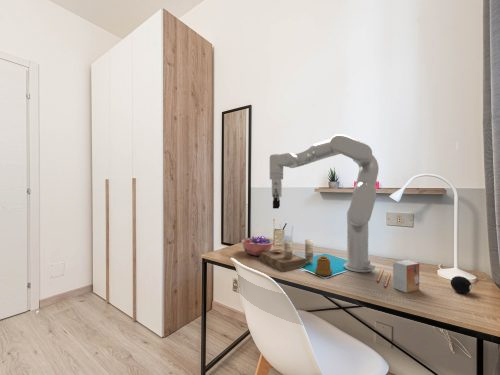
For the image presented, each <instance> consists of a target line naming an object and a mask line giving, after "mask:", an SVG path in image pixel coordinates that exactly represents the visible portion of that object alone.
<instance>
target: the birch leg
mask: <svg viewBox="0 0 500 375" xmlns="http://www.w3.org/2000/svg"><path fill="white" fill-rule="evenodd" d="M304 243H305V244H304V246H305V249H304V250H305V251H304V259H306V262H307V263H312V262H313V263H314V240H313V239H305V240H304Z"/></svg>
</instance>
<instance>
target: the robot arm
mask: <svg viewBox="0 0 500 375" xmlns="http://www.w3.org/2000/svg"><path fill="white" fill-rule="evenodd" d="M337 155H343V156H345V157H347V158H349V159H352V161H353V162H354V163H356V164H357V165H358V168H359V169H358V174H357V178H356V183H355V186H354V188H353V191H352V197H351V202H350V205H349V207H348V209H347V212H346V222H347V229H346V232H347V234H346V241H347V242H346V248H347V249H346V258H347V259H346V262H344V264H343V267H345V268H344V269H346V270H348V271H351V272H356V273H370V272H372V271H375V268H376V265H375V264H371V260H369V222H370V220H371V217H372V213H373V210H374V207H375V204H376V203H375V202H376V199H377V189H376V184H377V180H378V176H379V163H378V161H377V159H376V157H375V155H373V150H372V148H371V146H370V145H368V144H366V143H364V142H361V141H360V140H357V139H355V138H352V137H350V136H347V135H345V134H341V133H339V134H335V135H333V136H332V137H331V138H330V139H327V140H324V141H321V142H318V143H314V144H313V145H311V146H310V147H309V148H308V149H306V150H304V151H300V152H298V153H292V152H287V153H285V152H284V153H281V154H279V153H275V154H274V153H273V154H271V155H270V156H269V180H271V197H272V209H278V210H279V208H280V206H281V204H280V202H281V200H280V198H282V196H283V194H282V193H283V191H282V190H283V188H282V183H283V182H282V180H284V167H286V168H290V169H295V168H299V167H302V166H303V167H304V166H306V165H309V164H311V163H315V162H317V161H320V160H324V159H327V158H331V157H334V156H337Z"/></svg>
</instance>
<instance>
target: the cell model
mask: <svg viewBox="0 0 500 375" xmlns="http://www.w3.org/2000/svg"><path fill="white" fill-rule="evenodd" d="M241 243H242V249H243V250H244V252H245V253H246V254H249V255H252V256H257V257H258V256H259V252H264V251H271V250H272V246H273V244H274V240H272V239H270V238H267V237H265V236H264V235H261V236H257V237H255V236H254V235H253V236H252V237H246V238H244V239H243V238H242V239H241Z"/></svg>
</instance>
